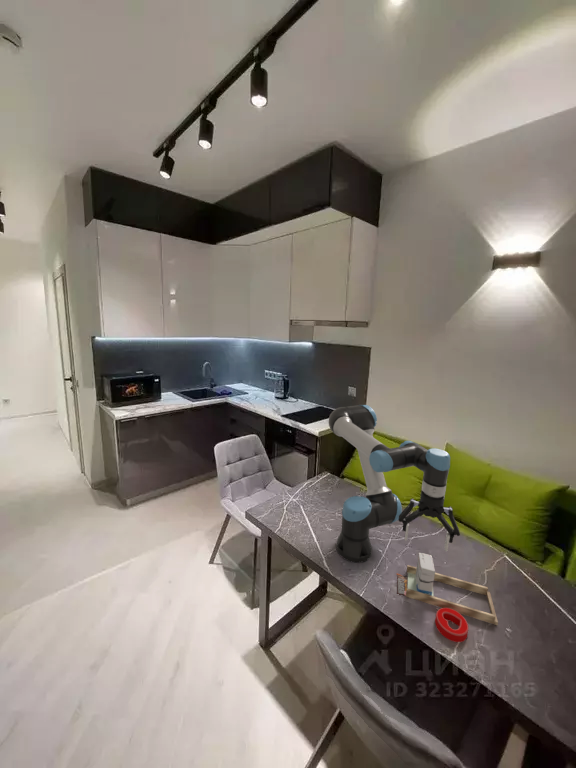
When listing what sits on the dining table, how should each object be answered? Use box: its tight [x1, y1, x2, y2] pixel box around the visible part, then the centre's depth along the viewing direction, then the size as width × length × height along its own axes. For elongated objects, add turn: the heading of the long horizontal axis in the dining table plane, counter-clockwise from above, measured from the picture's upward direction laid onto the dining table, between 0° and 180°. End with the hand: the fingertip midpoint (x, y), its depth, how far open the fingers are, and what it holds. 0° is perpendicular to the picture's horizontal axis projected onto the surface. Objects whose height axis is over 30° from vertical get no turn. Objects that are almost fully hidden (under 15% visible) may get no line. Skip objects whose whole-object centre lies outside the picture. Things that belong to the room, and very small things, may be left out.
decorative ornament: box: [434, 607, 469, 643], centre depth 105 cm, size 10×10×3 cm
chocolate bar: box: [396, 572, 408, 597], centre depth 121 cm, size 11×5×1 cm, turn 161°
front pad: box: [407, 572, 435, 597], centre depth 121 cm, size 9×11×1 cm
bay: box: [405, 564, 499, 626], centre depth 117 cm, size 29×13×3 cm, turn 69°
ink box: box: [415, 552, 436, 596], centre depth 119 cm, size 8×5×12 cm, turn 165°
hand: (425, 543), depth 116 cm, fingers open, 13 cm apart
